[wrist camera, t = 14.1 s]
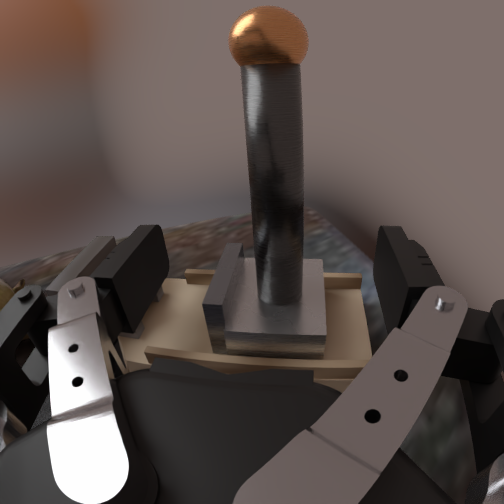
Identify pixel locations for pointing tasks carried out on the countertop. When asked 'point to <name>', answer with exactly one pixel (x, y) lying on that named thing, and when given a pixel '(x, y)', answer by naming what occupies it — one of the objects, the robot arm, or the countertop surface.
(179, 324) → the base
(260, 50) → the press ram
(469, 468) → the countertop surface
